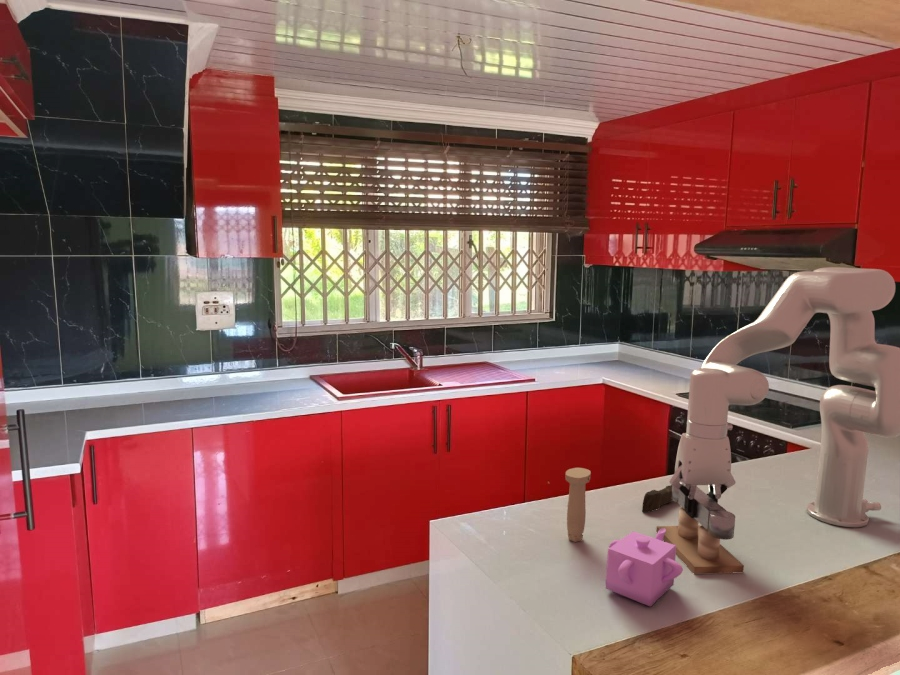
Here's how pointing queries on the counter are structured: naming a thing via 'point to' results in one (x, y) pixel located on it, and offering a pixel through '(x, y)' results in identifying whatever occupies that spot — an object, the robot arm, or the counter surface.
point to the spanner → (709, 513)
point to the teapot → (641, 567)
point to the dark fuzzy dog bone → (656, 499)
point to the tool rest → (699, 547)
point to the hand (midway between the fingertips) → (700, 514)
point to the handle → (576, 502)
